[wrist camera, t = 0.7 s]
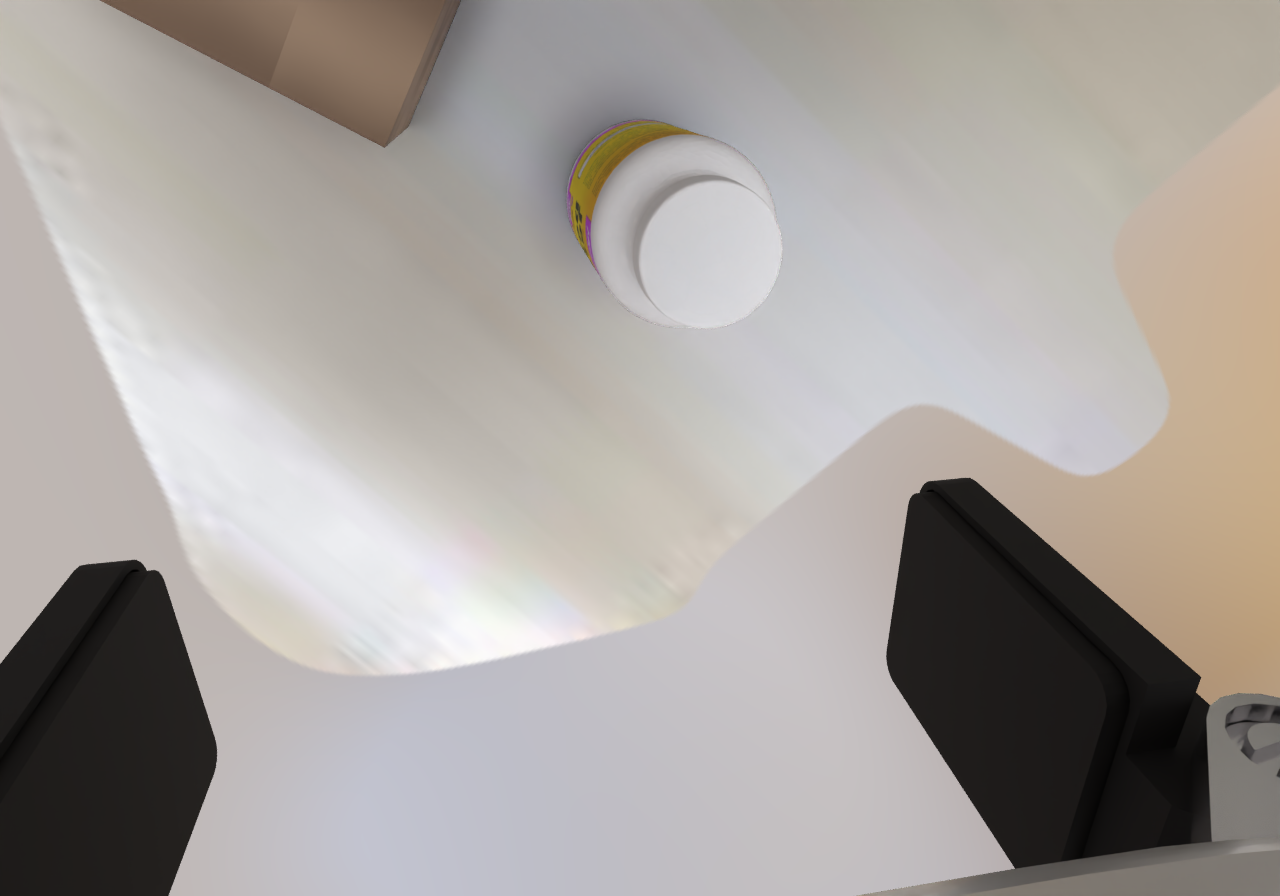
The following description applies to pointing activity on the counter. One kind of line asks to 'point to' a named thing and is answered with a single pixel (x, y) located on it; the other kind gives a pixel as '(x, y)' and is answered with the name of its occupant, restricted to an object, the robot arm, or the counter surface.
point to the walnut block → (318, 50)
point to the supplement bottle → (675, 224)
